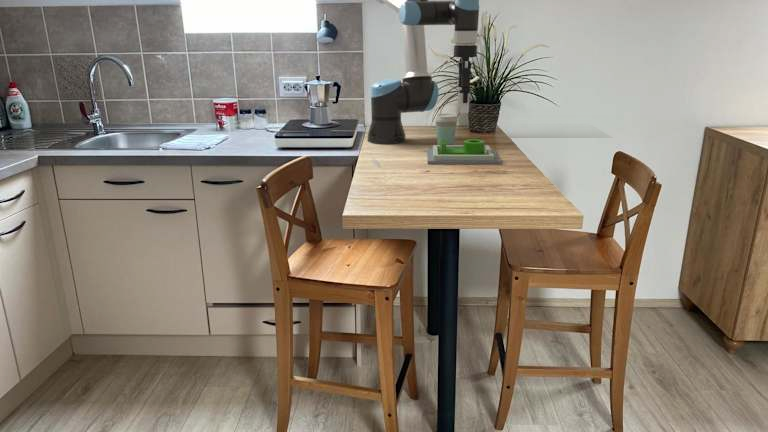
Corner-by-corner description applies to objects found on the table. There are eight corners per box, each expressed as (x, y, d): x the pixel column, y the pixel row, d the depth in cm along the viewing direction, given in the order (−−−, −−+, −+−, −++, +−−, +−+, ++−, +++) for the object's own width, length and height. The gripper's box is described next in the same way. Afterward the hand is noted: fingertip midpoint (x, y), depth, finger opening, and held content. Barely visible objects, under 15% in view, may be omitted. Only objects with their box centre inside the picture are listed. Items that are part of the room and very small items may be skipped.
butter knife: (379, 158, 201) (371, 158, 201) (393, 179, 176) (383, 179, 176) (379, 160, 202) (371, 160, 201) (393, 181, 176) (383, 181, 176)
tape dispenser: (482, 152, 205) (483, 139, 204) (485, 156, 199) (486, 143, 197) (439, 152, 206) (440, 139, 204) (441, 157, 199) (441, 143, 198)
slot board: (427, 163, 194) (427, 156, 193) (427, 151, 213) (427, 144, 212) (500, 164, 193) (500, 156, 192) (493, 151, 211) (493, 144, 211)
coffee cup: (456, 145, 223) (457, 113, 219) (457, 149, 215) (458, 117, 211) (434, 144, 224) (434, 113, 220) (434, 149, 216) (434, 117, 212)
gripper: (480, 46, 179) (477, 115, 186) (473, 42, 202) (471, 104, 209) (456, 46, 179) (453, 115, 186) (452, 42, 203) (450, 103, 210)
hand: (463, 109), depth 198 cm, fingers open, 13 cm apart
